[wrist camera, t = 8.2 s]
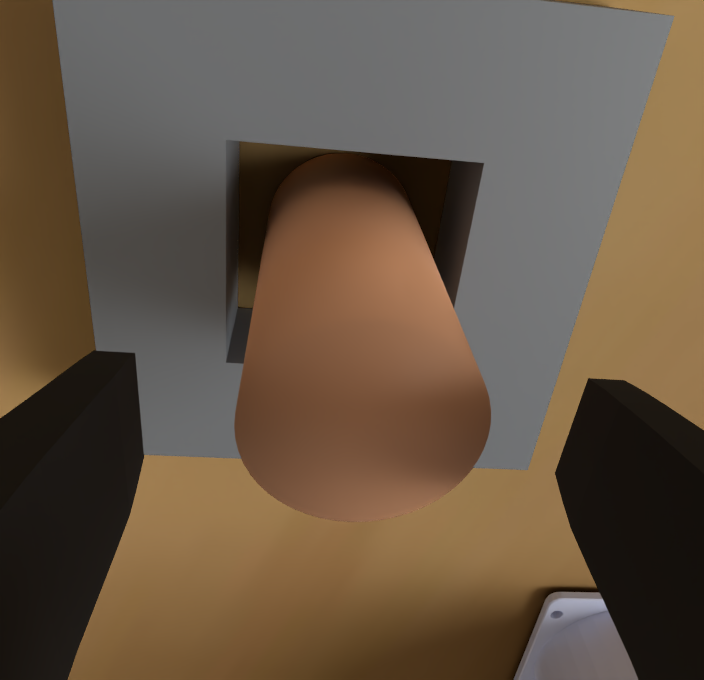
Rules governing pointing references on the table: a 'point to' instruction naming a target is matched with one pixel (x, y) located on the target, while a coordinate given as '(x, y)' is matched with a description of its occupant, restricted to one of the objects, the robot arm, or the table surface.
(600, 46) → the socket board
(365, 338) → the peg
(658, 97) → the table surface
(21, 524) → the robot arm
